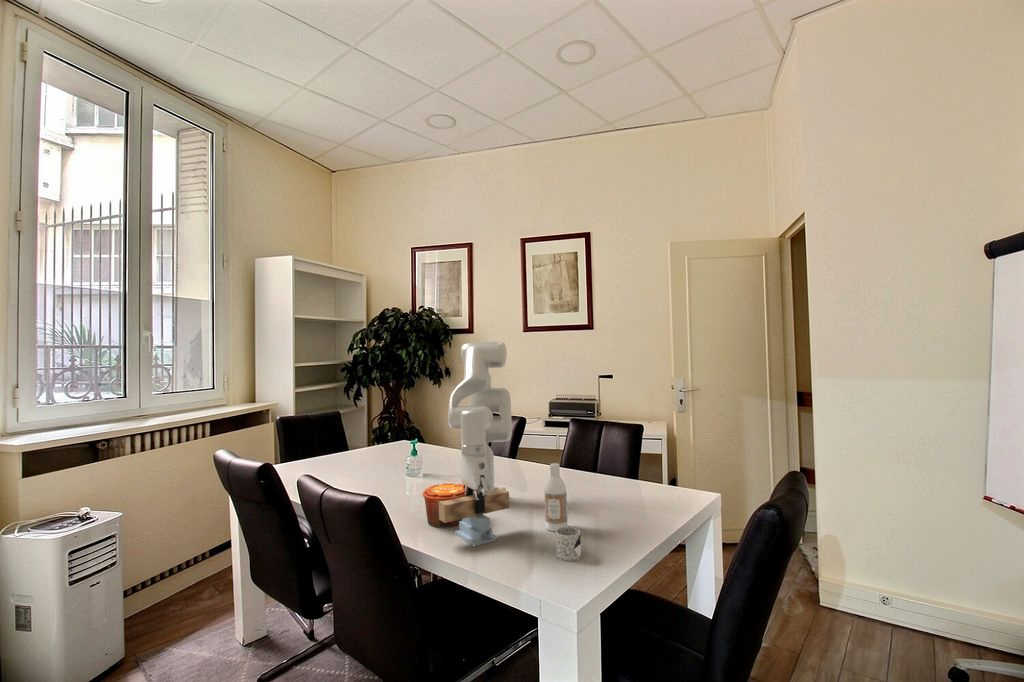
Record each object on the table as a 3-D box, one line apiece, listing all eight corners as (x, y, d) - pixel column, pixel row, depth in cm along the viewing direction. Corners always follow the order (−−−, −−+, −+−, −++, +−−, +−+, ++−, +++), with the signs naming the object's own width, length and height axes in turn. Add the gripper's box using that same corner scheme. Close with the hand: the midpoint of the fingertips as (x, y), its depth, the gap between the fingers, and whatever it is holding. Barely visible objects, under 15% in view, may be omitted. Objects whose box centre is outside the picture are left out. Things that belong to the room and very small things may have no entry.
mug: (580, 562, 125) (580, 536, 125) (555, 561, 126) (554, 535, 126) (581, 546, 135) (580, 523, 135) (558, 545, 136) (557, 522, 136)
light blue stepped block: (477, 528, 151) (477, 506, 152) (497, 539, 141) (496, 516, 142) (455, 533, 147) (454, 511, 147) (473, 546, 137) (472, 521, 137)
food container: (469, 511, 168) (468, 481, 168) (473, 527, 152) (472, 493, 153) (423, 515, 165) (422, 484, 166) (422, 532, 150) (422, 497, 150)
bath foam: (543, 531, 147) (541, 466, 148) (548, 523, 154) (546, 461, 155) (565, 533, 145) (563, 467, 146) (569, 525, 152) (567, 462, 153)
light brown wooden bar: (502, 504, 152) (502, 489, 152) (509, 507, 149) (508, 491, 149) (439, 519, 140) (438, 502, 140) (444, 522, 137) (444, 505, 137)
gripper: (498, 452, 140) (500, 515, 139) (471, 444, 154) (472, 500, 154) (476, 456, 136) (477, 520, 135) (450, 447, 150) (451, 505, 150)
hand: (475, 509), depth 145 cm, fingers open, 5 cm apart
